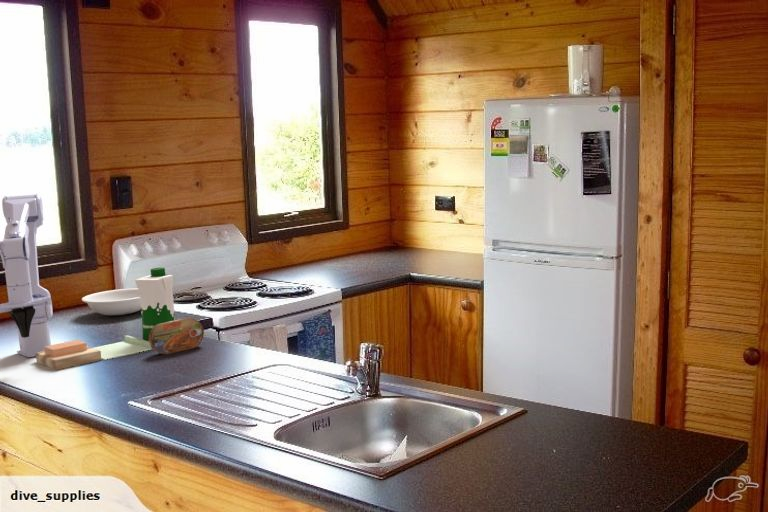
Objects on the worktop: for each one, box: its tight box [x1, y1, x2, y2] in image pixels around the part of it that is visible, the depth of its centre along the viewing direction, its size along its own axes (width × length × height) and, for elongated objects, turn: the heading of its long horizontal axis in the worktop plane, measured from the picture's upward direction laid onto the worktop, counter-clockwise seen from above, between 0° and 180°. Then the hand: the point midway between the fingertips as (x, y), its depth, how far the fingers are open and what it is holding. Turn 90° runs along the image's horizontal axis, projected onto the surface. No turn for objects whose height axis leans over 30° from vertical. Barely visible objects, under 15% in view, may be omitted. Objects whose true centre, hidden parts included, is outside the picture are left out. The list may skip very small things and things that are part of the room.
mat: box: [93, 334, 154, 361], centre depth 250 cm, size 16×14×2 cm
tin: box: [148, 317, 205, 355], centre depth 245 cm, size 15×3×8 cm, turn 127°
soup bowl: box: [81, 287, 141, 316], centre depth 303 cm, size 24×24×7 cm
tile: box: [44, 339, 88, 357], centre depth 241 cm, size 6×9×2 cm, turn 131°
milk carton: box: [134, 267, 176, 342], centre depth 260 cm, size 9×9×20 cm
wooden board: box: [35, 345, 103, 371], centre depth 241 cm, size 14×12×2 cm
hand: (25, 336), depth 234 cm, fingers closed
